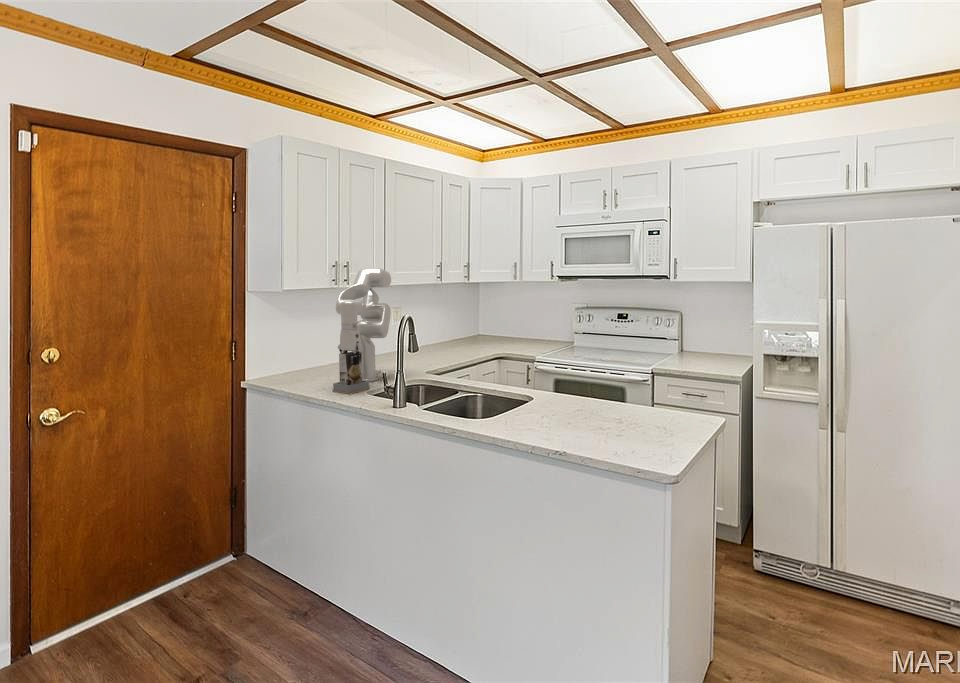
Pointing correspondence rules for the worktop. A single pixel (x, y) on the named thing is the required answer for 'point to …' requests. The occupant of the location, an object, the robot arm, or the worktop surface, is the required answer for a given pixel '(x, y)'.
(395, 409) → the worktop surface
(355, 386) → the dock
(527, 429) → the worktop surface
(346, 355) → the coffee box
